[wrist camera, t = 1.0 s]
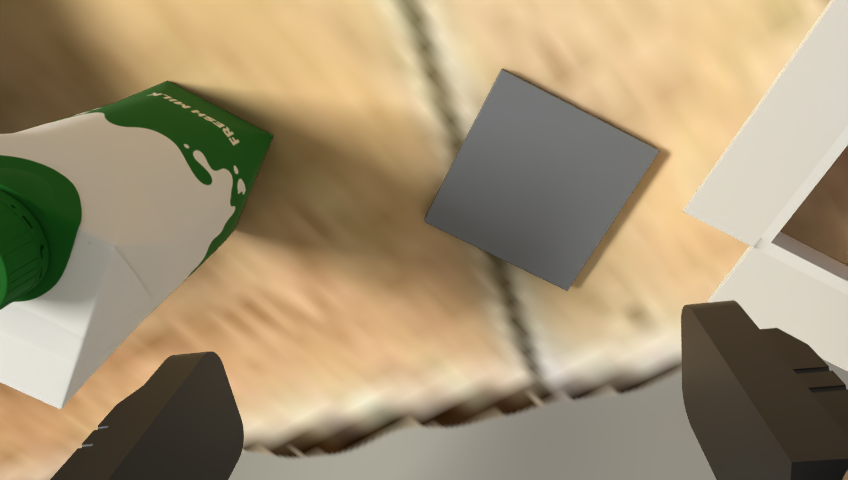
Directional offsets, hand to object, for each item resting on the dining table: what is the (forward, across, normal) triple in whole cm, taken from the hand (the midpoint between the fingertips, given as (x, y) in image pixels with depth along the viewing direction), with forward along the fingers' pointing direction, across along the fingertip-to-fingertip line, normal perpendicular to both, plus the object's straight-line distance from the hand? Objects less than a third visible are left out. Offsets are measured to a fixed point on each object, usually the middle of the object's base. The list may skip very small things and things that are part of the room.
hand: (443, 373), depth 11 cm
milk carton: (+27, +17, +1) cm, 32 cm away
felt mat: (+27, -3, +5) cm, 27 cm away
